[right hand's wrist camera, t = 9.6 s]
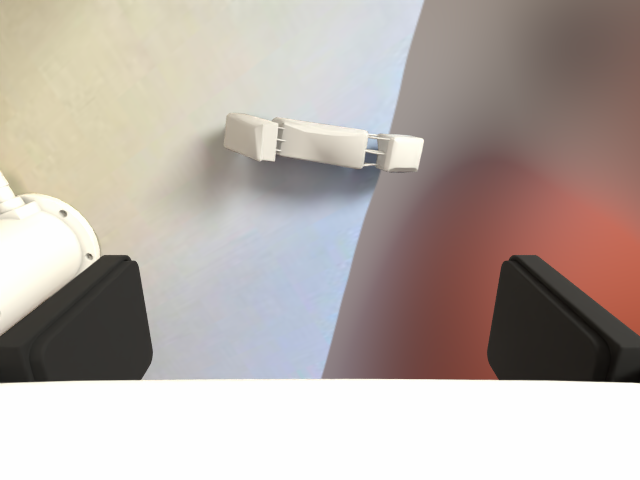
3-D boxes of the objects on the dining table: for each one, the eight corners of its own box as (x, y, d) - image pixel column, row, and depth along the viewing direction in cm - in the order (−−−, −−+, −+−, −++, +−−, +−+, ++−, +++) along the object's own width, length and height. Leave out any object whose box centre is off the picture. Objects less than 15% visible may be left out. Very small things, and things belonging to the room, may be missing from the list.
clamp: (225, 146, 44) (217, 159, 38) (227, 110, 43) (218, 116, 36) (407, 167, 47) (427, 182, 40) (414, 133, 45) (436, 143, 39)
